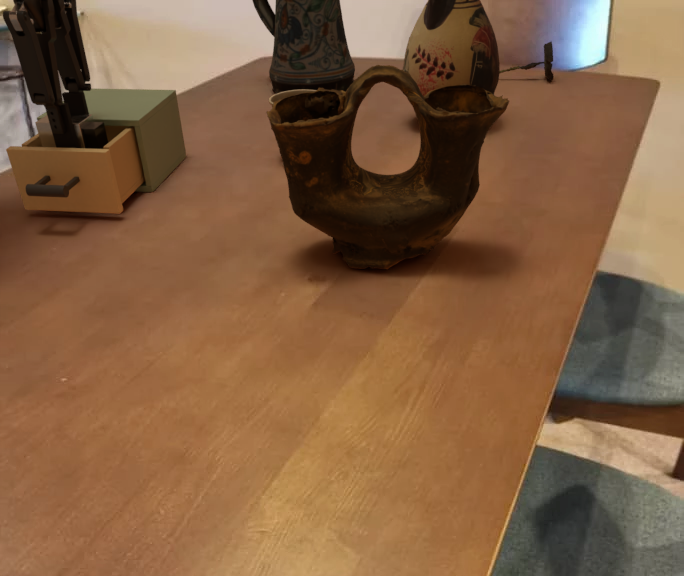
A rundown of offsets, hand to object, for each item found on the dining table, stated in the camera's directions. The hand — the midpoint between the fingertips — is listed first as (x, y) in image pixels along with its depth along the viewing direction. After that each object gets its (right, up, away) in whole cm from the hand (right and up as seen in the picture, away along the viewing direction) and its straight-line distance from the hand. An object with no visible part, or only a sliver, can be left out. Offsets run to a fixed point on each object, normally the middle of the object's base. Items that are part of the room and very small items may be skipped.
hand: (78, 151), depth 95 cm
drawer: (0, -5, +3) cm, 6 cm away
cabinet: (+2, +2, +13) cm, 13 cm away
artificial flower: (+64, +32, +45) cm, 85 cm away
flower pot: (+29, +5, +15) cm, 33 cm away
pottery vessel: (+40, -16, -10) cm, 44 cm away
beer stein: (+28, +31, +45) cm, 62 cm away
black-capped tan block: (0, 0, 0) cm, 0 cm away
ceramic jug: (+52, +15, +26) cm, 60 cm away
